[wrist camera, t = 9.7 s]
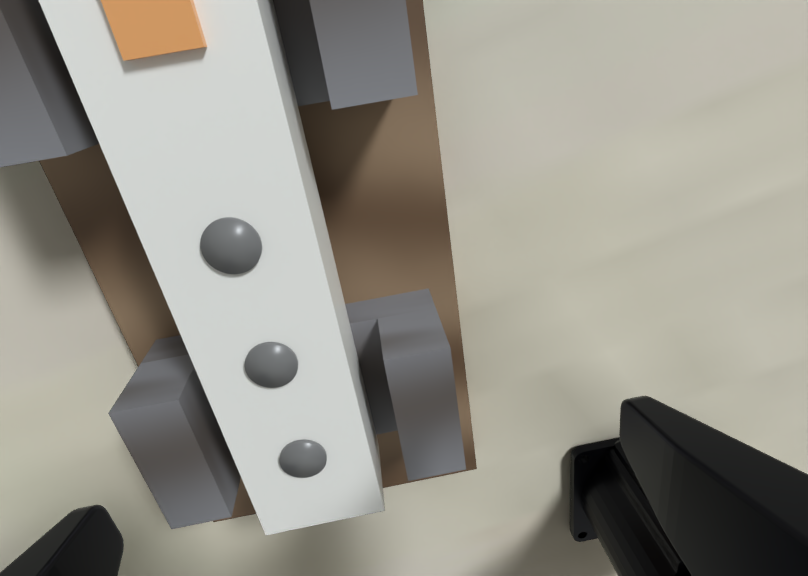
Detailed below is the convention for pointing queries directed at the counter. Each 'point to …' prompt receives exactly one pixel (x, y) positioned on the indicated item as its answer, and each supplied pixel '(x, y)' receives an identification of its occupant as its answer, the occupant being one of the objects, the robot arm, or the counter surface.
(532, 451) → the counter surface
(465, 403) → the cradle board
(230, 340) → the white bar
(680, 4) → the counter surface
